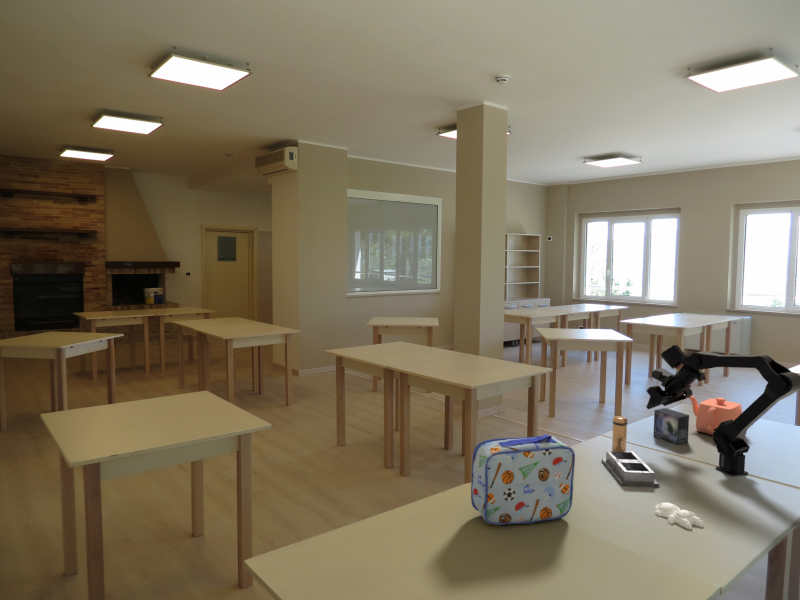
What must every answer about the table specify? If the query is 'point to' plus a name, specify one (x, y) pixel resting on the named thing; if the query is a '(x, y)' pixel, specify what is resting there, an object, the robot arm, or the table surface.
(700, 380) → the robot arm
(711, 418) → the teapot
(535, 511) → the lunch box
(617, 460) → the grey two-compartment tray
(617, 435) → the copper tube
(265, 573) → the table surface
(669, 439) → the small box
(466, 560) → the table surface
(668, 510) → the astronaut figurine
